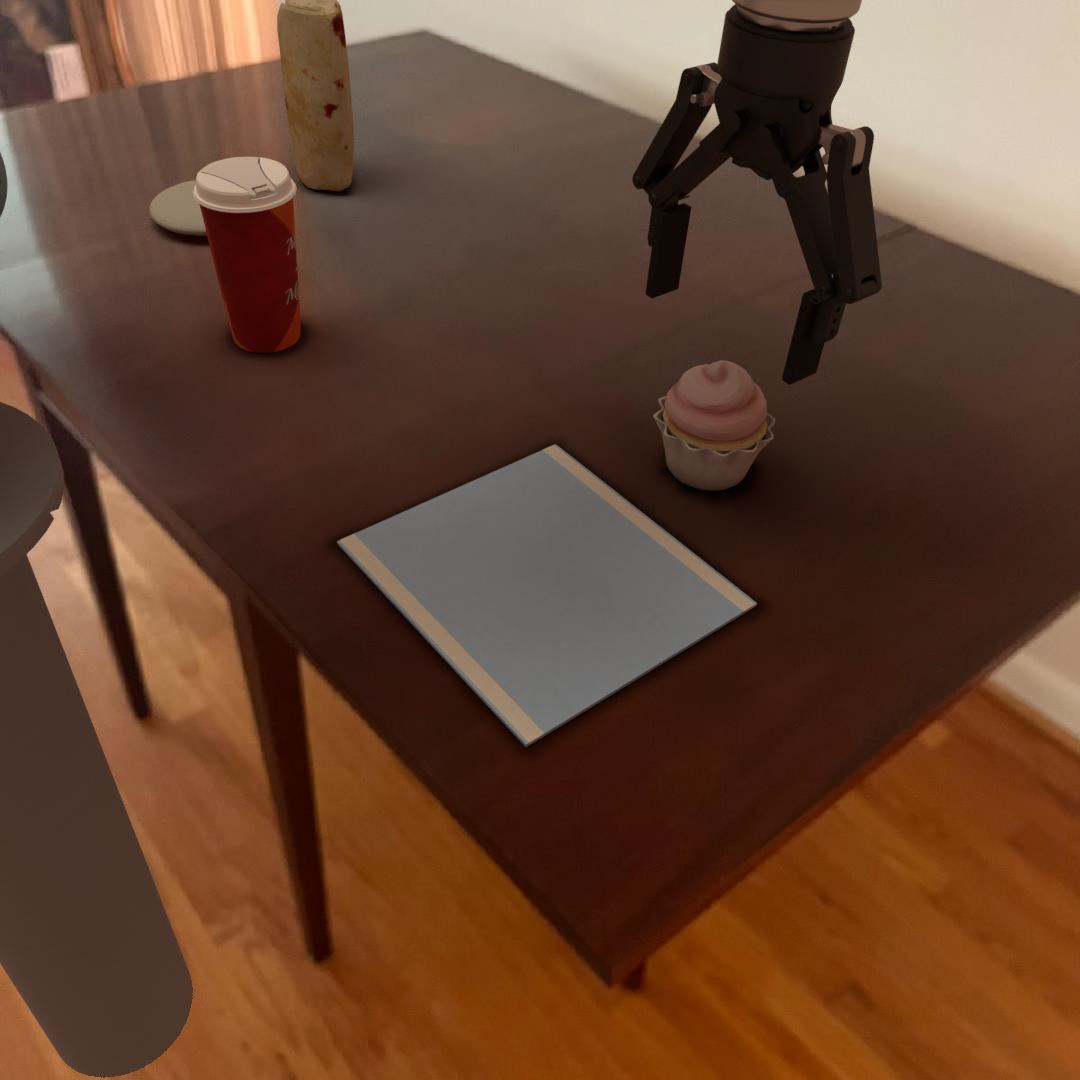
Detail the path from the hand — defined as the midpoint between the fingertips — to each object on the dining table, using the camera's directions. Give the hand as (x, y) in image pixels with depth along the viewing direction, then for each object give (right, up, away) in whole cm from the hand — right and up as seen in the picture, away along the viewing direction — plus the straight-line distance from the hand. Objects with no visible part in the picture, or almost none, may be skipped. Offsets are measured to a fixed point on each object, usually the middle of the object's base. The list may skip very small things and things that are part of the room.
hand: (726, 332), depth 75 cm
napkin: (-13, -17, -2) cm, 22 cm away
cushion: (-48, +19, +36) cm, 63 cm away
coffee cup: (-38, +4, +20) cm, 43 cm away
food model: (-38, +26, +45) cm, 64 cm away
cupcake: (0, -9, +8) cm, 13 cm away
